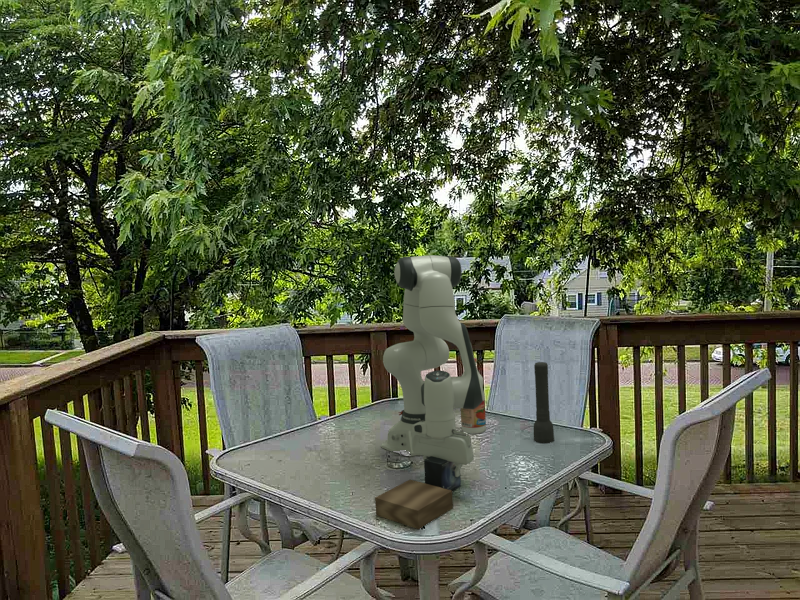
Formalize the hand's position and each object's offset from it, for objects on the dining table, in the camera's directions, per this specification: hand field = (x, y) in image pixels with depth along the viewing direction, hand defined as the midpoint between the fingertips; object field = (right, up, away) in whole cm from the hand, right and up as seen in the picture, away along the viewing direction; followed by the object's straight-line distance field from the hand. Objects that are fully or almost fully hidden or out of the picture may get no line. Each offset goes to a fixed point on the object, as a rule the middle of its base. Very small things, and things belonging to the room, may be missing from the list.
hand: (443, 473), depth 182 cm
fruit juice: (+16, +1, +55) cm, 58 cm away
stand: (-9, -7, -13) cm, 17 cm away
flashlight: (+39, +1, +39) cm, 55 cm away
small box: (0, -6, +1) cm, 6 cm away
